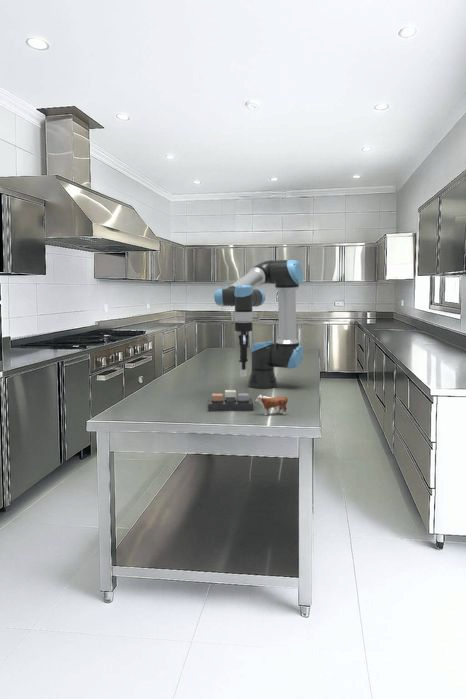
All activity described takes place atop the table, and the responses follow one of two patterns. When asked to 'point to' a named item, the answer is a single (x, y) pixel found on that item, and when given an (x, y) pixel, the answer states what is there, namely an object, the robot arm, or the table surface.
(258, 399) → the bull figurine
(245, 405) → the keypad base
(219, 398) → the tan cube
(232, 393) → the cream key
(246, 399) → the grey key
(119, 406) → the table surface
